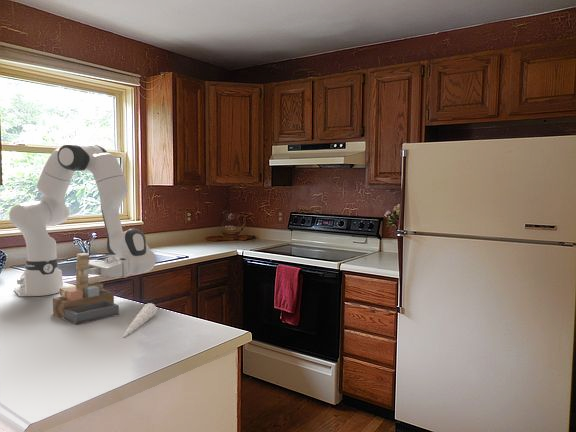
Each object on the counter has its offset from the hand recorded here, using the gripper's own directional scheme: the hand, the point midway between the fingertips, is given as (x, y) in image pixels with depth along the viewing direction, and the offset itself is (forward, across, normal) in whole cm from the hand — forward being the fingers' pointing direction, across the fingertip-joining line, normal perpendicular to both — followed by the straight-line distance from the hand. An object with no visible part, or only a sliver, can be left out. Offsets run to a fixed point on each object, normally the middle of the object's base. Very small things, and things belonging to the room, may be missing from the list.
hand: (80, 271), depth 160 cm
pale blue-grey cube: (-2, +3, +9) cm, 10 cm away
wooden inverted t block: (-1, -1, +8) cm, 8 cm away
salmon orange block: (+4, +3, +9) cm, 10 cm away
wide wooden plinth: (-1, +1, +15) cm, 15 cm away
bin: (+1, +10, +15) cm, 18 cm away
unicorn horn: (-6, +30, +15) cm, 34 cm away
